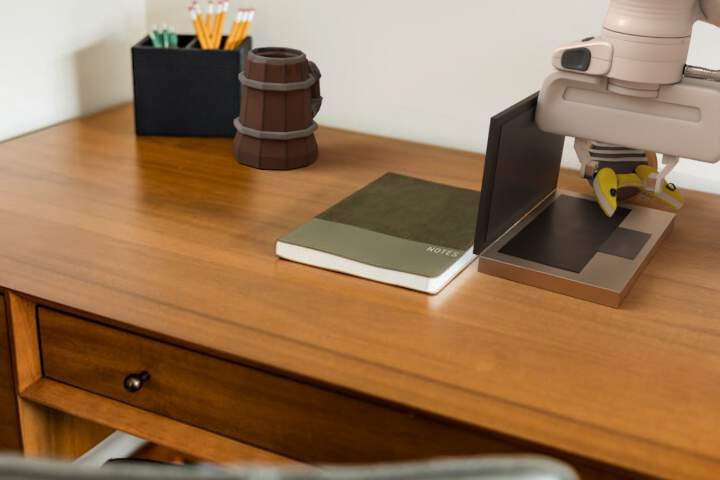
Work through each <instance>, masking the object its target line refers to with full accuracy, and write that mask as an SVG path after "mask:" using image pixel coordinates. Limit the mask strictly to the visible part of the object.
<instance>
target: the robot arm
mask: <svg viewBox="0 0 720 480" xmlns="http://www.w3.org/2000/svg"><path fill="white" fill-rule="evenodd" d="M696 22H702V23H706V24H709V25H711V26H712V25H713V26H715V27H716V28H719V29H720V0H609V5H608V8H607V11H606V13H605V16H604V18H603V21H602V25H601V32H600V35H598V36H589V37H585V38H581V39H576V40H572V41H569V42H566V43H564V44H562V45H559V46H558V47H556V49H554V50H553V51H552V54H551V65H552V67H553V68H554V69H552V70H550V71H549V72H548V73H547V74H546V75H545V76H544V78H543V80H542V83H541V86H540V89H539V90H540V92H539V96H538V100H537V105H536V111H535V118H534V121H535V123H536V125H537V127H538V129H539V130H540V131H542V132H548V133H553V134H558V135H564V136H565V137H569V138H574V141H573V149H574V152H575V154H576V156H577V158H578V162H579V163H580V171H579V178H580V179H585V180H587V179H589V180H594V178H595V174H596V172H597V170H596V169H597V168H598V164H599V162H596V161H592V159H591V157H590V154H589V151H588V146H589V145H590V144H591V143H592V141H595V142H601V143H606V144H611V145H617V146H622V147H627V148H632V149H638V150H643V151H648V152H654V153H656V154H658V155H659V154H660V155H662V158H661V164H662V165H664V166H665V167H663V169H662V170H661V171H660V172H659V174H657V173H651V174H650V175H649V176H648V178H647V184H648V185H647V186H646V189H645V191H646V192H651V193H656V194H660V193H661V191H662V188H663V184H664V179H665V178H666V177H667V176H668V175H669V173H670V172H671V171H672V170H673V169H675V167H676V166H677V164H678V163H679V162H680V158H681V159H687V160H690V161H691V160H692V161H698V162H703V163H708V164H712V165H713V164H717V163H718V162H720V69H711V68H707V67H703V66H698V65H691V64H687V60H688V56H689V50H690V44H691V39H692V34H693V27H694V24H695V23H696Z"/></svg>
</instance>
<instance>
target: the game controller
mask: <svg viewBox="0 0 720 480" xmlns="http://www.w3.org/2000/svg"><path fill="white" fill-rule="evenodd" d="M651 173H657V174H659V173H660V172H659V170H655V169H654V168H652V167H650V166H647V165H640V166H638V167H636V168H634V169H633V171H632V174H618V175H615V172H614V171H613V170H612V169H611V168H603V169H601V170H599V171H597V172H596V174H595V178H594V180H593V188H592V190H593V194H594V196H595V197H596V199H597V201H598V203H599V205H600V207H601V208H602V209H603V211H604V212H605V214H606V215H607V216H609V217H611V216H612V215H613V213H614V211H615V210H616V205H617V204H616V190H617V188H620V187H628V186H632V187H637V188H639V189H640V190H642V191H643V193H642V194H641V195H640V196H641V198H643V199H645V200H649V201H652V200H653V199H655V200H656V201H658V202H660V203H661V204H663V205H665V206H666V207H668V208H671V209H673V210H676V211H679V210H681V208H682V206H684V198H683V197H682V194H680V193H679V191H677V190H676V189H677V186H676V185H675V184H674V183H673V182H667V180H666V179H665V178H664V184H663V188H662V191H661V193H660V194H656V193H651V192H646V191H645V189H646V186H647V185H648V184H647V178H648V176H649V175H650V174H651Z"/></svg>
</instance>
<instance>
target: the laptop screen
mask: <svg viewBox="0 0 720 480" xmlns="http://www.w3.org/2000/svg"><path fill="white" fill-rule="evenodd" d="M539 92H540V89H538V90H537V91H536V92H535V91H534V93H531V94H530V95H528V96H527V97H525V98H523V99H521V100H519V101H518V102H515V103H514V104H512V105H511V106H509V107H507V108H505V109H503V110H501V111H500V112H498V113H496V114H494V115H492V116H491V117H490V119H489V126H488V127H489V128H488V134H487V142H486V150H485V156H484V162H483V163H484V164H483V172H482V179H481V187H480V193H479V203H478V209H477V210H478V211H477V218H476V224H475V232H474V240H473V247H472V255H476V256H480V255H481V254H482V253H484V252H485V251H486V250H487V249H488V248H489V247H490V246H492V245H493V244H494V243H495V242H496V241H497V240H499V239H500V238H501V237H502V236H503V235H504V234H505V233H507V232H508V231H509V230H510V229H511V228H512V227H514V226H515V225H516V224H517V223H518V222H519V221H520V220H522V219H523V218H524V217H525V216H526V215H527V214H529V213H530V212H531V211H532V210H533V209H534V208H535V207H537V206H538V205H539V204H540V203H541V202H542V201H544V200H545V199H546V198H547V197H548V196H549V195H551V194H552V193H553V192H554V191H555V190H556V189H557V187H558V182H559V176H560V172H561V165H562V158H563V154H564V148H565V147H564V146H565V143H566V142H565V141H566V136H564V135H558V134H553V133H548V132H542V131H540V130H539V129H538V127H537V125H536V123H535V121H534V118H535V111H536V105H537V100H538V96H539Z"/></svg>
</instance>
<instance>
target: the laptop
mask: <svg viewBox="0 0 720 480" xmlns="http://www.w3.org/2000/svg"><path fill="white" fill-rule="evenodd" d="M616 204H617V205H616V210H615V211H614V213H613V215H612V216H611V217H609V216H607V215H606V214H605V212H604V211H603V209H602V208H601V207H600V205H599V203H598V201H597V199H596V197H595V195H590V194H585V193H581V192H576V191H572V190H567V189H562V188H556V189H555V190H554V191H552V192H551V193H550V194H549V195H548V196H547V197H545V198H544V199H543V200H542V201H541V202H540V203H539V204H537V205H536V206H535V207H534V208H533V209H532V210H530V211H529V212H528V213H527V214H526V215H525V216H523V217H522V218H521V219H520V220H519V221H518V222H516V223H515V224H514V225H513V226H512V227H511V228H510V229H508V230H507V231H506V232H505V233H504V234H503V235H501V236H500V237H499V238H498V239H497V240H496V241H494V242H493V243H492V244H491V245H490V246H489V247H487V248H486V249H485V250H484V251H483V252H482V253H481V254H479V255H478V265H477V272H478V273H483V274H486V275H491V276H494V277H498V278H502V279H505V280H509V281H513V282H517V283H520V284H523V285H528V286H531V287H535V288H540V289H542V290H547V291H550V292H554V293H558V294H561V295H565V296H568V297H573V298H577V299H579V300H584V301H588V302H590V303H591V302H592V303H594V304H598V305H602V306H607V307H610V308H612V309H613V308H614V309H619V307H620V306H621V304H622V303H623V301H624V300H625V298H626V297H627V295H628V294H629V293H630V291H631V290H632V288H633V287H634V286H635V284H636V283H637V281H638V280H639V278H640V277H641V276H642V274H643V272H644V271H645V269H646V268H647V267H648V265H649V264H650V262H651V260H652V259H653V258H654V256H655V255H656V254H657V252H658V251H659V249H660V248H661V246H662V245H663V243H665V240H666V239H667V238H668V236H669V235H670V233H671V232H672V230H673V229H674V227H675V221H676V217H677V213H675V212H671V211H665V210H661V209H656V208H651V207H648V206H647V207H646V206H641V205H637V204H633V203H629V202H619V201H616Z"/></svg>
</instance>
